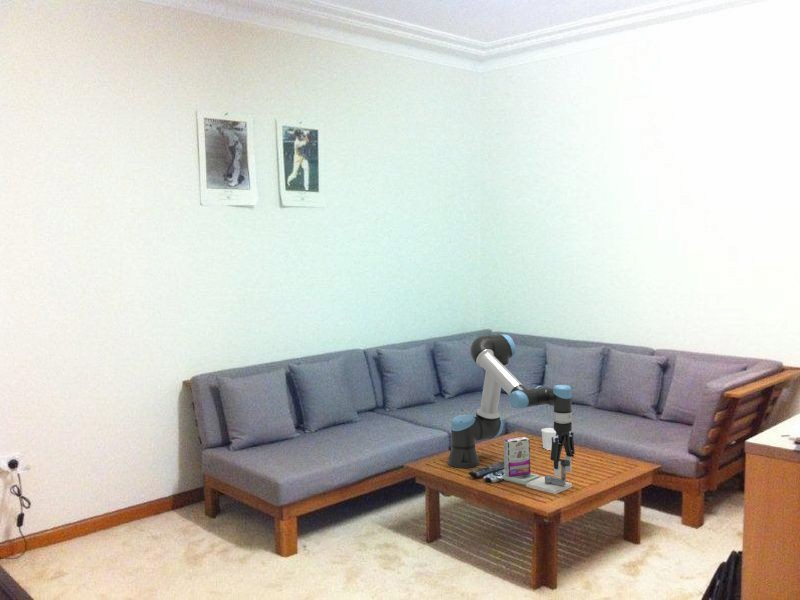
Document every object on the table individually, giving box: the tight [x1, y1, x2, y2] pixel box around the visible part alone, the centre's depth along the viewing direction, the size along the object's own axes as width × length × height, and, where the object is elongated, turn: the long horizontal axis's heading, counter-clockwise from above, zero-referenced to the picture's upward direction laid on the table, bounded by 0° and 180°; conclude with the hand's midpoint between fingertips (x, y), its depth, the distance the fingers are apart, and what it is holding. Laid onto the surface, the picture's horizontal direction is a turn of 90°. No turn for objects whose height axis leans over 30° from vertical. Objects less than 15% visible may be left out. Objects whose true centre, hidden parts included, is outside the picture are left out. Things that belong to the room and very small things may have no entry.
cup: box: [540, 427, 560, 451], centre depth 377 cm, size 10×10×10 cm
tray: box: [498, 472, 541, 487], centre depth 328 cm, size 17×11×2 cm, turn 45°
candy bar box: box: [503, 436, 531, 477], centre depth 328 cm, size 11×5×16 cm, turn 111°
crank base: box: [525, 476, 573, 495], centre depth 317 cm, size 15×13×2 cm
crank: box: [544, 458, 570, 486], centre depth 314 cm, size 11×4×11 cm, turn 50°
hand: (562, 473), depth 311 cm, fingers open, 8 cm apart
